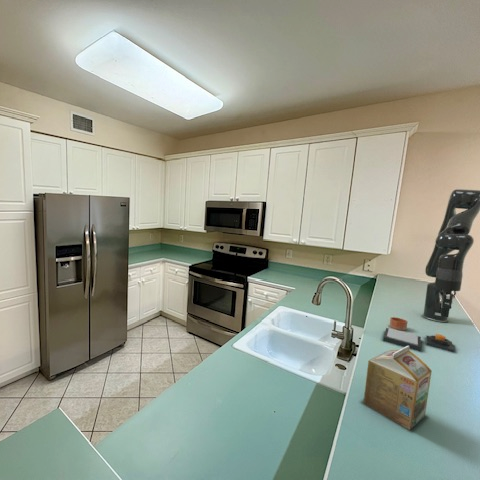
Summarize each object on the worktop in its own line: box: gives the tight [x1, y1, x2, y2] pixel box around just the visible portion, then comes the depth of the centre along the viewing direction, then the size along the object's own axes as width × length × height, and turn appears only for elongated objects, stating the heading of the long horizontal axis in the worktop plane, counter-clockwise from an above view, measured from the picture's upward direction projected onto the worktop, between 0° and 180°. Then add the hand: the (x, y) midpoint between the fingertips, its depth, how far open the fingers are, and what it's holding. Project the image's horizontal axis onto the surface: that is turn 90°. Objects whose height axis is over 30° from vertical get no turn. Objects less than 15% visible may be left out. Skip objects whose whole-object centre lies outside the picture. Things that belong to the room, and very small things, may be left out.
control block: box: [425, 335, 455, 353], centre depth 113 cm, size 10×8×3 cm
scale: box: [382, 327, 422, 352], centre depth 116 cm, size 14×12×3 cm
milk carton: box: [363, 346, 432, 431], centre depth 73 cm, size 11×10×19 cm
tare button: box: [434, 333, 447, 341], centre depth 112 cm, size 3×3×2 cm
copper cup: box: [389, 316, 408, 332], centre depth 129 cm, size 6×6×5 cm
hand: (443, 314), depth 111 cm, fingers open, 8 cm apart
